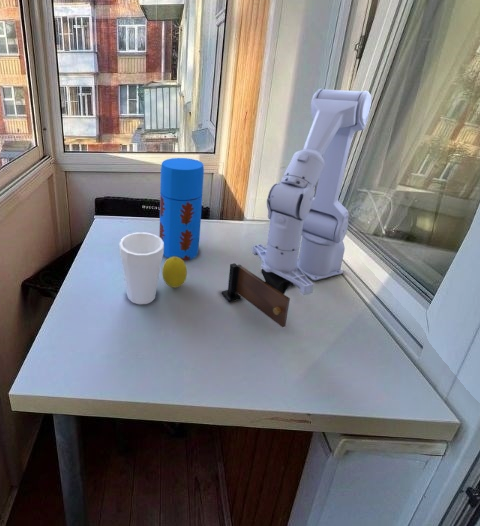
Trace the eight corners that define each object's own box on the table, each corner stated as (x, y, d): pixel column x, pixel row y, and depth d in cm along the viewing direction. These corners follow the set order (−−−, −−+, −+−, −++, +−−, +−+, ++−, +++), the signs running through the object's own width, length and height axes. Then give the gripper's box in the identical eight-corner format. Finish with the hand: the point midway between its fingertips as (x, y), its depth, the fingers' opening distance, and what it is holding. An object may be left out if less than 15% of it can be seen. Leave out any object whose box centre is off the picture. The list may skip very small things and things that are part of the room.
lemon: (185, 296, 73) (186, 265, 71) (160, 293, 74) (161, 262, 72) (186, 281, 79) (188, 251, 76) (163, 278, 80) (164, 249, 77)
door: (286, 326, 64) (290, 298, 62) (279, 330, 63) (283, 301, 61) (236, 289, 74) (239, 263, 72) (230, 291, 73) (233, 266, 71)
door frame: (284, 277, 80) (288, 248, 77) (293, 285, 77) (298, 255, 75) (221, 293, 74) (224, 262, 72) (229, 302, 72) (232, 270, 69)
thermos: (166, 263, 85) (169, 171, 78) (154, 242, 95) (155, 159, 88) (205, 258, 88) (211, 168, 80) (189, 238, 98) (194, 156, 90)
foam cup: (168, 288, 76) (170, 237, 72) (153, 314, 68) (154, 259, 64) (131, 277, 80) (130, 229, 76) (112, 301, 72) (111, 248, 68)
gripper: (242, 229, 70) (237, 284, 74) (295, 268, 56) (284, 332, 61) (270, 224, 72) (263, 277, 76) (326, 260, 59) (314, 322, 63)
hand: (274, 301), depth 68 cm, fingers closed
